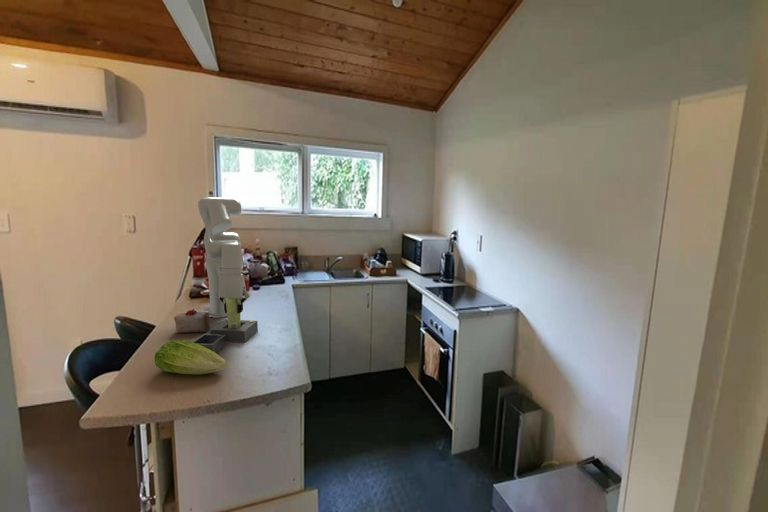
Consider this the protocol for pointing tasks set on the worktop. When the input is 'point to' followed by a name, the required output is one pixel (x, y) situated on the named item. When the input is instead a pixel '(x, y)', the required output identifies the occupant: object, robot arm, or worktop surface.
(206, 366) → the lettuce
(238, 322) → the tube
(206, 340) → the gray square frame
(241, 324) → the port block
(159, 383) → the worktop surface
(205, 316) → the food item
